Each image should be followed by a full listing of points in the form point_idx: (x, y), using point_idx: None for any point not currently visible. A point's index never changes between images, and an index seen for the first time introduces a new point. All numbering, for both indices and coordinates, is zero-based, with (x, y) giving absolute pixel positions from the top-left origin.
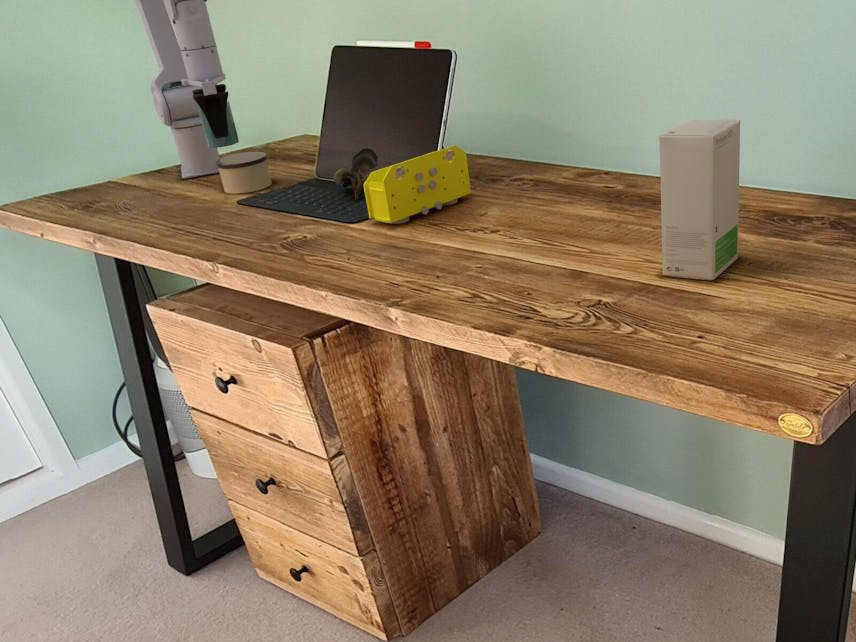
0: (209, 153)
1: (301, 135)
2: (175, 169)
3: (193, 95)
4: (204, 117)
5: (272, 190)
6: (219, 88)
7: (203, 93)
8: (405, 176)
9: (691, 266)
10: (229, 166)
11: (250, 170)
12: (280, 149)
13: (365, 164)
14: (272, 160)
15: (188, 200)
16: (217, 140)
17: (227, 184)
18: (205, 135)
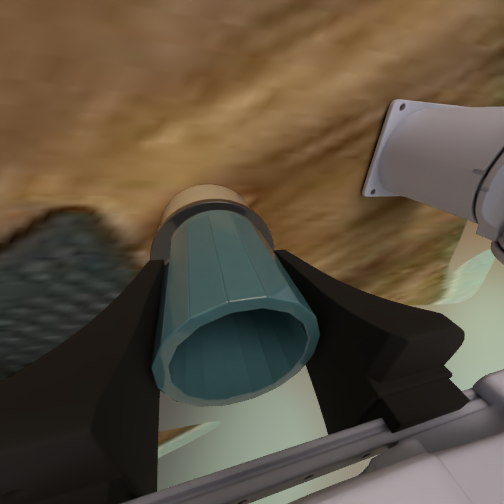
0: (405, 184)
1: (444, 294)
2: (492, 94)
3: (21, 453)
4: (177, 289)
5: None
6: (338, 429)
7: (103, 478)
8: None
9: None
10: (156, 233)
11: None
12: (408, 274)
13: None
14: (359, 266)
15: (175, 86)
16: (166, 256)
17: (176, 200)
18: (202, 229)
